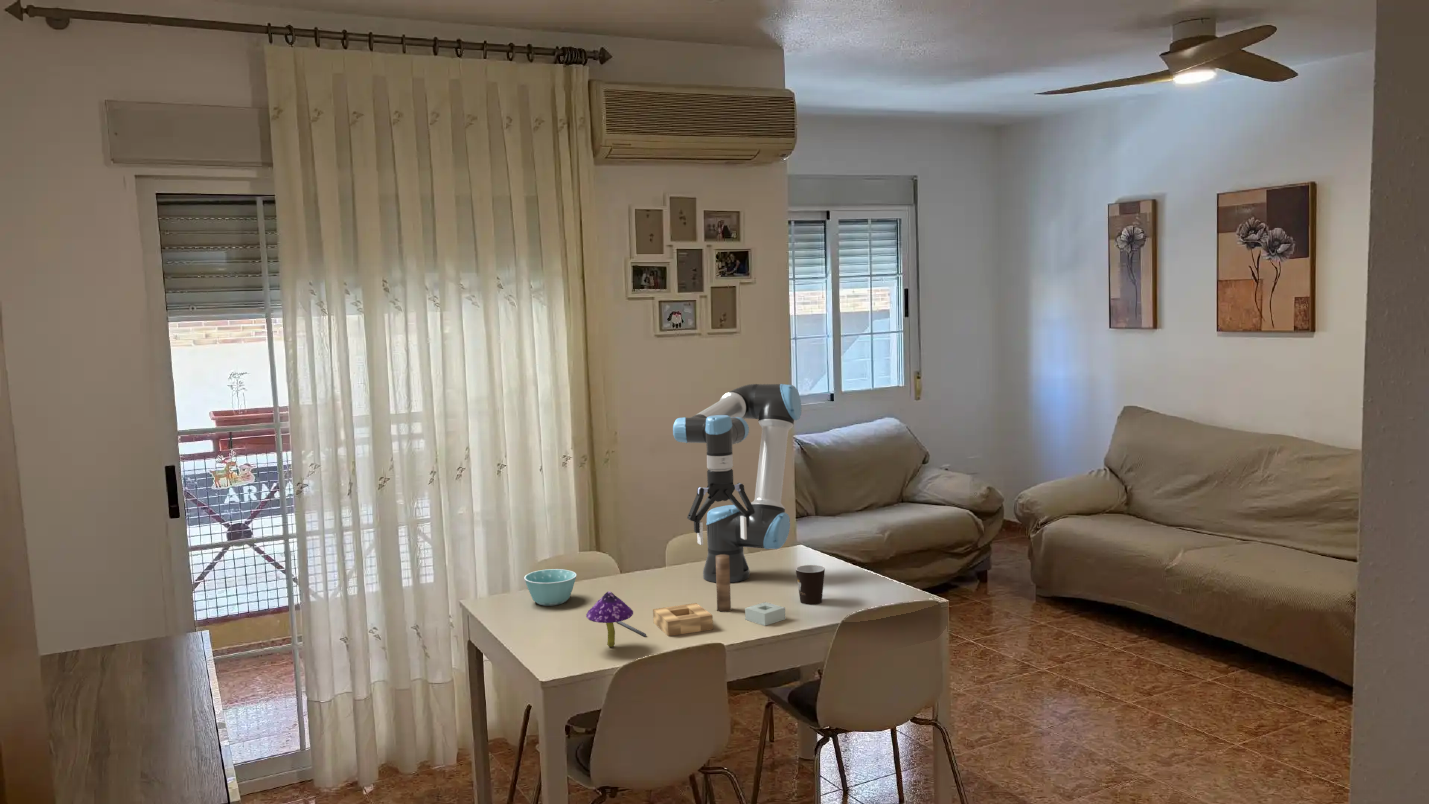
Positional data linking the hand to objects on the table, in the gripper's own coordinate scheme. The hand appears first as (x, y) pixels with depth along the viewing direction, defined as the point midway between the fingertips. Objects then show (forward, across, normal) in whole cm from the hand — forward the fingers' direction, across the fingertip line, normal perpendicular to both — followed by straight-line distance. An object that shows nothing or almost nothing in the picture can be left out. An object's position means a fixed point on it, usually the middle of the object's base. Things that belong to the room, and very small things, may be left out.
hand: (722, 541), depth 310 cm
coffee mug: (+21, +27, -3) cm, 34 cm away
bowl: (+21, -44, +32) cm, 58 cm away
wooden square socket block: (+20, -16, -9) cm, 28 cm away
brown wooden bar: (+20, 0, 0) cm, 21 cm away
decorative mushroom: (+21, -39, -17) cm, 47 cm away
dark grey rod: (+20, -30, -5) cm, 37 cm away
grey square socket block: (+20, +7, -14) cm, 26 cm away
